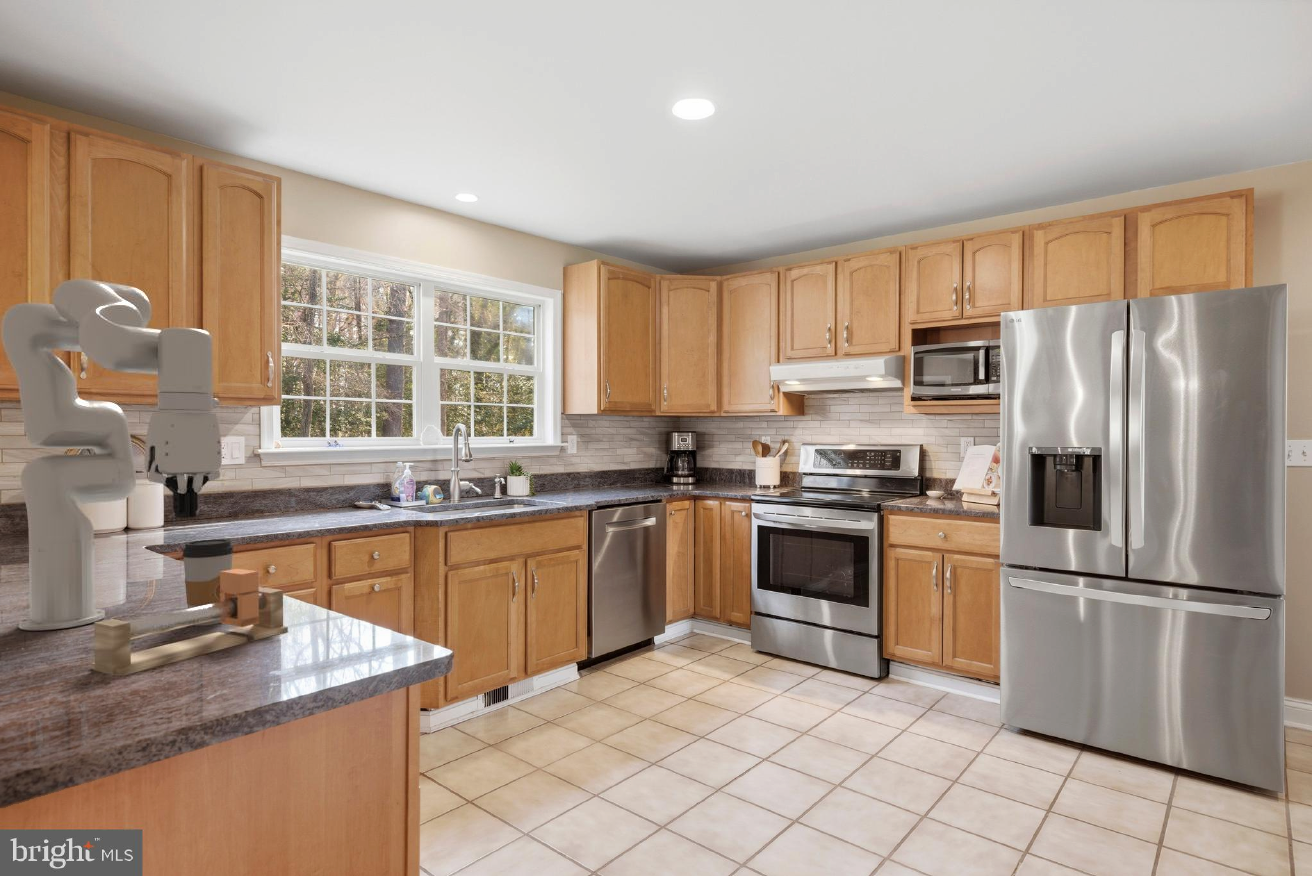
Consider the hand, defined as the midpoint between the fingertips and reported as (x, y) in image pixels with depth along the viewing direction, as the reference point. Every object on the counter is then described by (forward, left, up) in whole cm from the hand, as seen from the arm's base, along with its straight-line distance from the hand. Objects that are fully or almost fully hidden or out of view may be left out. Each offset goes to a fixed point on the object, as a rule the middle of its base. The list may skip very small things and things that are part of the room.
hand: (185, 516), depth 119 cm
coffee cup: (-16, +13, -22) cm, 30 cm away
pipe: (0, +1, -18) cm, 18 cm away
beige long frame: (0, +2, -22) cm, 22 cm away
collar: (0, +9, -19) cm, 21 cm away
